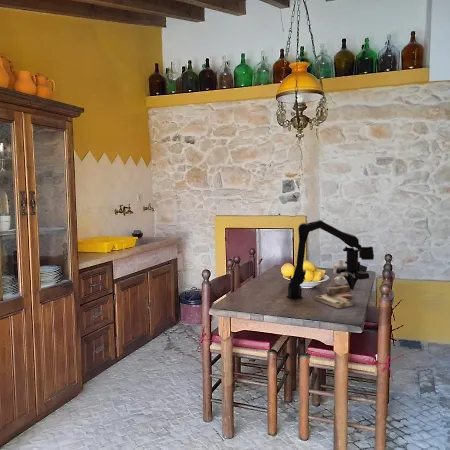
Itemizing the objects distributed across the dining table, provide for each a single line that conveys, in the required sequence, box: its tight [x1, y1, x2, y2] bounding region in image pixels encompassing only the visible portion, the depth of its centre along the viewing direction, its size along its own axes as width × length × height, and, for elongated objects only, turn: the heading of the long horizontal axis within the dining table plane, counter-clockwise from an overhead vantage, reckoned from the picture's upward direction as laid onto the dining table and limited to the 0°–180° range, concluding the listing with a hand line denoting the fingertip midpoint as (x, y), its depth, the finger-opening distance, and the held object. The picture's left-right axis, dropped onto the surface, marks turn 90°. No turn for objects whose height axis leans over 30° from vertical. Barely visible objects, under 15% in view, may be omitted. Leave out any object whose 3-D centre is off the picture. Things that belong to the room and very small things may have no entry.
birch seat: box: [315, 293, 354, 309], centre depth 221 cm, size 10×17×2 cm, turn 25°
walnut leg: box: [325, 284, 351, 295], centre depth 230 cm, size 14×4×3 cm, turn 116°
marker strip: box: [337, 293, 353, 298], centre depth 231 cm, size 10×4×1 cm, turn 115°
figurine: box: [332, 258, 348, 286], centre depth 257 cm, size 7×9×15 cm
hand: (352, 289), depth 226 cm, fingers closed
